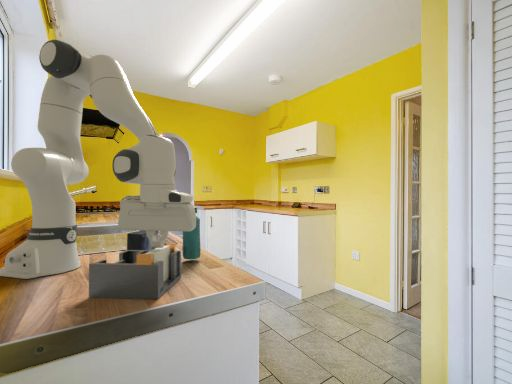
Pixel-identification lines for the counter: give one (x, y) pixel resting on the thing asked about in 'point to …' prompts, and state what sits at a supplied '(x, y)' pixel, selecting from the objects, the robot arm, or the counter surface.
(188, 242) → the beverage bottle
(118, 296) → the rack
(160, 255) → the panel
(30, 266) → the robot arm
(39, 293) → the counter surface
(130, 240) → the small box
